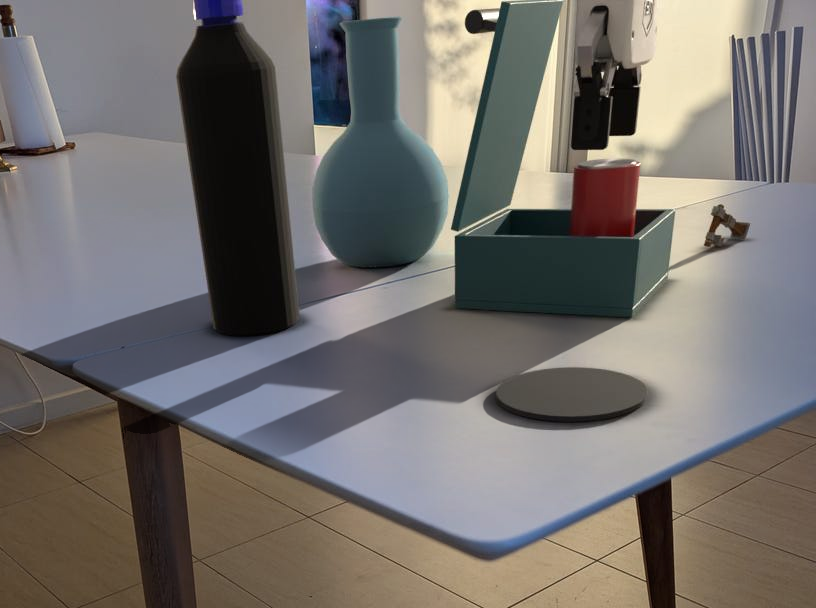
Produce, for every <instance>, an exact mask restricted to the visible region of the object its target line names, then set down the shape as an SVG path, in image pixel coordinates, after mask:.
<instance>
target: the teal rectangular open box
mask: <svg viewBox="0 0 816 608" xmlns="http://www.w3.org/2000/svg"><path fill="white" fill-rule="evenodd" d="M675 217H676V209H675V208H636V215H635V226H634V236H633V237H590V236H570V221H571V208H505V209H503V210H502V211H499V212H497V214H496V213H495V214H494V215H493V216H492V215H491V216H490V217H488V218H487V219H485V220H483V221H481V222H478V223H477V224H475V225H473V226H471V227H468V228H466V229H465V230H464V231H462V232H459V233H458V234H455V235H454V308H455V309H463V310H479V311H480V310H483V311H484V310H485V311H503V312H517V313H518V312H520V313H539V314H556V315H573V316H591V317H592V316H593V317H594V316H595V317H611V318H628V319H629V318H633V317H634V316H635V315H636V314H637V313H638V312H639V311H640V310H641V309H642V308H643V307H644V305H646V303H647V302H648V301H649V300H650V299H651V298H652V297H653V296H654V295H655V294H656V293H657V292H658V291H659V290H660V289H661V288H662V287H663V286H664V284H666V283H667V282H668V279H669V270H670V261H671V254H672V253H671V252H672V244H673V235H674V227H675V220H676V219H675Z"/></svg>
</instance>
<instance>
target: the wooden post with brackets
mask: <svg viewBox="0 0 816 608" xmlns="http://www.w3.org/2000/svg"><path fill="white" fill-rule="evenodd" d="M710 216H712V220H711V223H710V226H709V229H708V231H707V232H706V234H705V240H704V243H703V246H704V247H707V248H711V247H712V245H713V246H714V247H721V248H722V247H723V244H724V242H725V237H722V236H723V235H722V234H716V231H717V229H718V227H719V226H720V225H721V226H722V225H723V226H724V228H725V229H729V230H730V236H729V238H730V239H735V240H746V238H747V235H748V234H749V230H750V226H751V222H743V221H736V220H737V219H736V218H734V217H733V215H732V214H730V213H727V212H726V209H725V205H724V204H722V203H721V204H720V203H719V204H717V205H713V206H712V209H711V212H710Z"/></svg>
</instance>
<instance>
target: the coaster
mask: <svg viewBox="0 0 816 608" xmlns="http://www.w3.org/2000/svg"><path fill="white" fill-rule="evenodd" d="M648 395H649V390H648V387H647V386H646V385H645V383H644V382H642V381H641V380H639V379H638V378H636V377H634V376H631V375H629V374H626V373H623V372H619V371H614V370H610V369H603V368H595V367H577V366H575V367H572V366H571V367H569V366H568V367H553V368H544V369H543V368H542V369H537V370H533V371H528V372H524V373H520V374H518V375H515V376H512V377H510V378H507V379H505V380H504V381H503V382H501V383H500V384H499V385H498V386H497V388H496V391H495V400H496V403H497V404H498V405H499V406H500V407H501V408H502V409H504V410H505V411H508V412H510V413H512V414H515V415H518V416H521V417H524V418H528V419H534V420H540V421H548V422H558V423H559V422H560V423H563V422H566V423H575V422H576V423H577V422H578V423H580V422H594V421H601V420H606V419H607V420H608V419H612V418H616V417H620V416H623V415H626V414H629V413H632V412H634V411H636V410H638V409H639V408H641V407H642V406H643V405H644V404H645V403H646V402H647V399H648Z"/></svg>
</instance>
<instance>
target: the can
mask: <svg viewBox="0 0 816 608" xmlns="http://www.w3.org/2000/svg"><path fill="white" fill-rule="evenodd" d="M640 171H641V162H639V161H637V160H636V159H633V158H622V157H621V158H620V157H619V158H617V157H615V158H614V157H613V158H612V157H611V158H598V159H590V160H584V161H581V162H579V163H578V164H576V165H574V166H573V171H572V186H571V187H572V188H571V202H570V203H571V205H570V209H571V221H570V236H590V237H633V236H634V226H635V215H636V209H637V203H638V193H639V192H638V191H639V181H640Z"/></svg>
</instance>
